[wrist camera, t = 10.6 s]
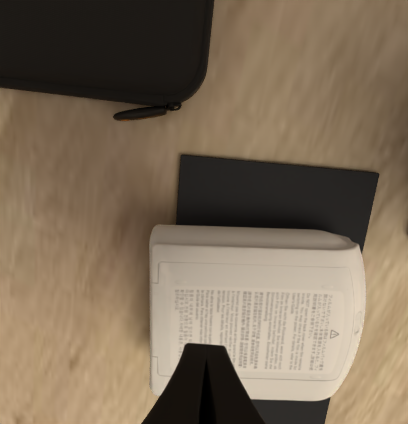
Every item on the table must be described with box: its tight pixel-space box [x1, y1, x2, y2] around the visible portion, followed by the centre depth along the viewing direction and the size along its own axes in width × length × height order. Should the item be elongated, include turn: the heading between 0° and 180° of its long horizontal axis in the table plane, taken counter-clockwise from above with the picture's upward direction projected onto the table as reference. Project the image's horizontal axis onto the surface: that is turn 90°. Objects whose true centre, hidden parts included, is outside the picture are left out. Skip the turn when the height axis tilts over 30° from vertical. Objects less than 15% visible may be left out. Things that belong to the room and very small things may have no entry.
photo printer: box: [149, 225, 366, 401], centre depth 19 cm, size 10×4×12 cm
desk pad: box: [176, 155, 379, 424], centre depth 22 cm, size 12×20×1 cm, turn 175°
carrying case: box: [0, 0, 214, 121], centre depth 16 cm, size 11×3×15 cm
